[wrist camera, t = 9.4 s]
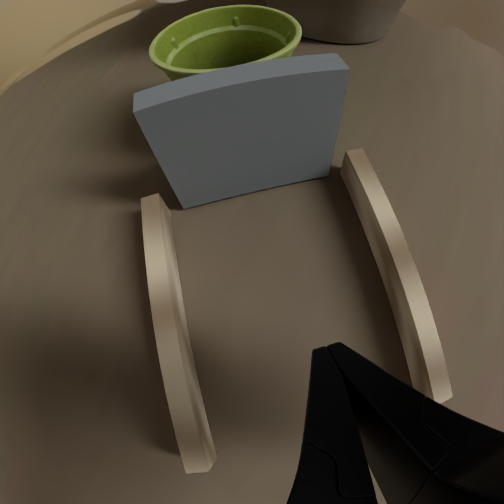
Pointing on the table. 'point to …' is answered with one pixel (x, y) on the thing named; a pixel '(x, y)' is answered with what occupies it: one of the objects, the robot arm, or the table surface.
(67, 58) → the table surface
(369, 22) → the plant pot
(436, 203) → the table surface
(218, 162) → the board
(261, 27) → the plant pot
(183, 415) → the wooden rail frame
